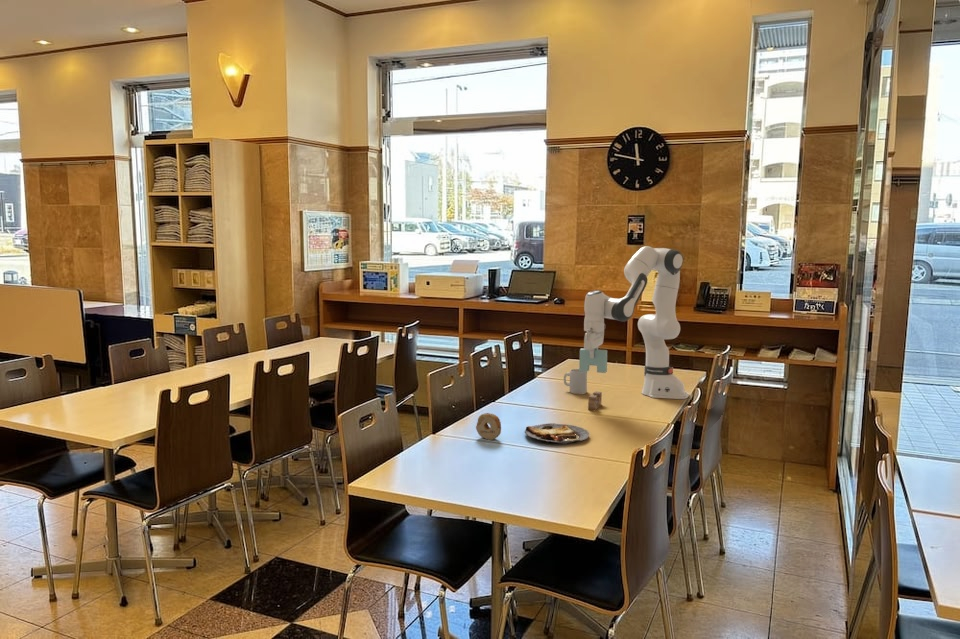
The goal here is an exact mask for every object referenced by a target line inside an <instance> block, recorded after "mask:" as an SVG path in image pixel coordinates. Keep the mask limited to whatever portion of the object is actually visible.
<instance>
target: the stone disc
mask: <svg viewBox="0 0 960 639" xmlns="http://www.w3.org/2000/svg"><path fill="white" fill-rule="evenodd" d="M501 424H502V422H501V420H500V417H498V416H497V415H496V414H494V413H489V412H487V413H486V412H485V413H482V414H480V415H479V416H478V418H477V422H476V425H475V429H476V432H477V434H478V435H479V436H480V437H481V438H483V439H485V440H489V439H490V440H492V441H493V440H495V439H497V438H498V437H499V436H500V435H501V433H502V425H501Z"/></svg>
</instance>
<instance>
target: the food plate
mask: <svg viewBox="0 0 960 639" xmlns="http://www.w3.org/2000/svg"><path fill="white" fill-rule="evenodd" d="M524 433H525V434H524V435H526V436H527V437H529V438H530V439H531V438H532V439H534V440H538V441H542V442H546V443H549V442H551V443H556V444H561V445H562V444H569V443H573V442H578V441H584V440H587V439H588V438H589V436H590V432H589V430H587V429H584V428H583V427H580V426H577V425H574V424H566V423H564V424H563V423H551V422H550V423H542V424H538V425H537V424H536V425H531V426H530V425H528V426H526V427H525V430H524ZM575 434H576V435H575ZM556 436H557V437H556ZM578 436H579V438H578ZM567 438H569V440H567V441H565V439H567ZM573 439H574V440H573Z"/></svg>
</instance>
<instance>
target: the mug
mask: <svg viewBox="0 0 960 639" xmlns="http://www.w3.org/2000/svg"><path fill="white" fill-rule="evenodd" d="M567 376H569V382H567V380H566V379H567ZM563 383H564V385H565V386H566V387H569V393H571V394H574V395H583V394H584V395H585V394H587V391H588V372H586V371H579V368H576V369H575V368H573V369H570V370H569V372H566V373H564V375H563Z"/></svg>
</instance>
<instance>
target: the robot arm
mask: <svg viewBox="0 0 960 639" xmlns="http://www.w3.org/2000/svg"><path fill="white" fill-rule="evenodd" d="M683 264H684V256H683V254H682V252H681V251H679V250H677V249H673V248H672V249H671V248H666V247H652V246H650V245H645V246H642V247H640V248H639V249H638V250H637V251H636V252H635V253H634V254H633V255H632V256H631V258H630V259H629V260H628V261H627V263H626V264H625V266H624V268H623V275H624V277H625V279H626V280H627V281H628V283H630V284H631V285H630V286H629V289H628V291H627V293H626V294H625V296H624V297H621V298H618V297H611V296H608V295H607V294H605V293H604V292H603V290H591V291H589V292H587V293H586V295H585V296H584V297H585V298H584V307H583V309H584V319H583V320H584V321H583V331H584V332H585V333H584V337H583V348H584V350H589V353H590V358H594V355H595V354H594V349H598V350H599V347H600V346H602V345H603V343H604V339H605V338H604V336H605V329H606V324H605V319H608V320H615V321H619V322H622V323H623V322H624V323H625V322H627V321H629V320H630V319H631V318H632V316H633V314H634V312H635V308H636V306H637V303H638V302H639V300H640V298H641V297H642V294H644V291H645V289H646V287H647V284H648V276H649V275H650V273H651V271H656V272H657V273H658V275H657V277H656V282H655V285H654V289H653V290H654V291H653V294H652V298H651V299H652V300H651V301H652V304H653V305H654V309H655V313H654V314H653V313H648V314H643V315H642V316H640V318H639V319H638V321H637V328H638V331H639V332H640V333H641V335H642V338H643V342H644V345H645V346H644V347H645V364H644V370H643V372H644V380H643V386H642V390H641V394H642V395H644V396H648V397H650V398H653V399H675V400H685V399H687V398H689V397H690V393H689V392H688V391H685V390H686V389H685V385H684V382H683V381H682V380H681V379H679V377H677V376H676V375H674V367H673V366H670V349H669V347H668V346H667V345H666V341H665V340H673V339H676V338H678V336H679V334H680V332H681V324H680V322H679V321H678V319H677V314H676V304H677V303H676V302H677V298H678V292H679V288H680V282H681V280H680V278H681V268H682V266H683Z"/></svg>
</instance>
